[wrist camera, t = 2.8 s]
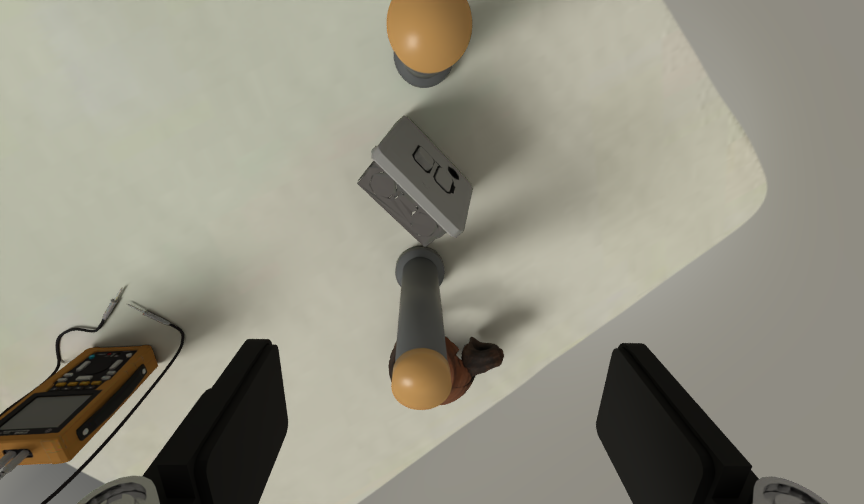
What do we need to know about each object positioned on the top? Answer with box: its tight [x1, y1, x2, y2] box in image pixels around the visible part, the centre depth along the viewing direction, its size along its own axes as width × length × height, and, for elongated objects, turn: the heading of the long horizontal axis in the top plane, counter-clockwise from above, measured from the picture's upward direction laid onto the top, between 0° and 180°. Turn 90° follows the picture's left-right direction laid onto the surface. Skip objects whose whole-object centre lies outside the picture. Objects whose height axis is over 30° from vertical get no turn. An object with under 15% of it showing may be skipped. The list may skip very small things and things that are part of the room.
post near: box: [387, 0, 472, 88], centre depth 26 cm, size 5×5×18 cm
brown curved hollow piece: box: [389, 337, 504, 405], centre depth 43 cm, size 12×10×8 cm
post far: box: [391, 246, 452, 410], centre depth 34 cm, size 5×5×18 cm
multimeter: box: [0, 287, 184, 504], centre depth 34 cm, size 15×10×20 cm
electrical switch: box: [357, 116, 473, 247], centre depth 34 cm, size 9×5×9 cm, turn 44°
